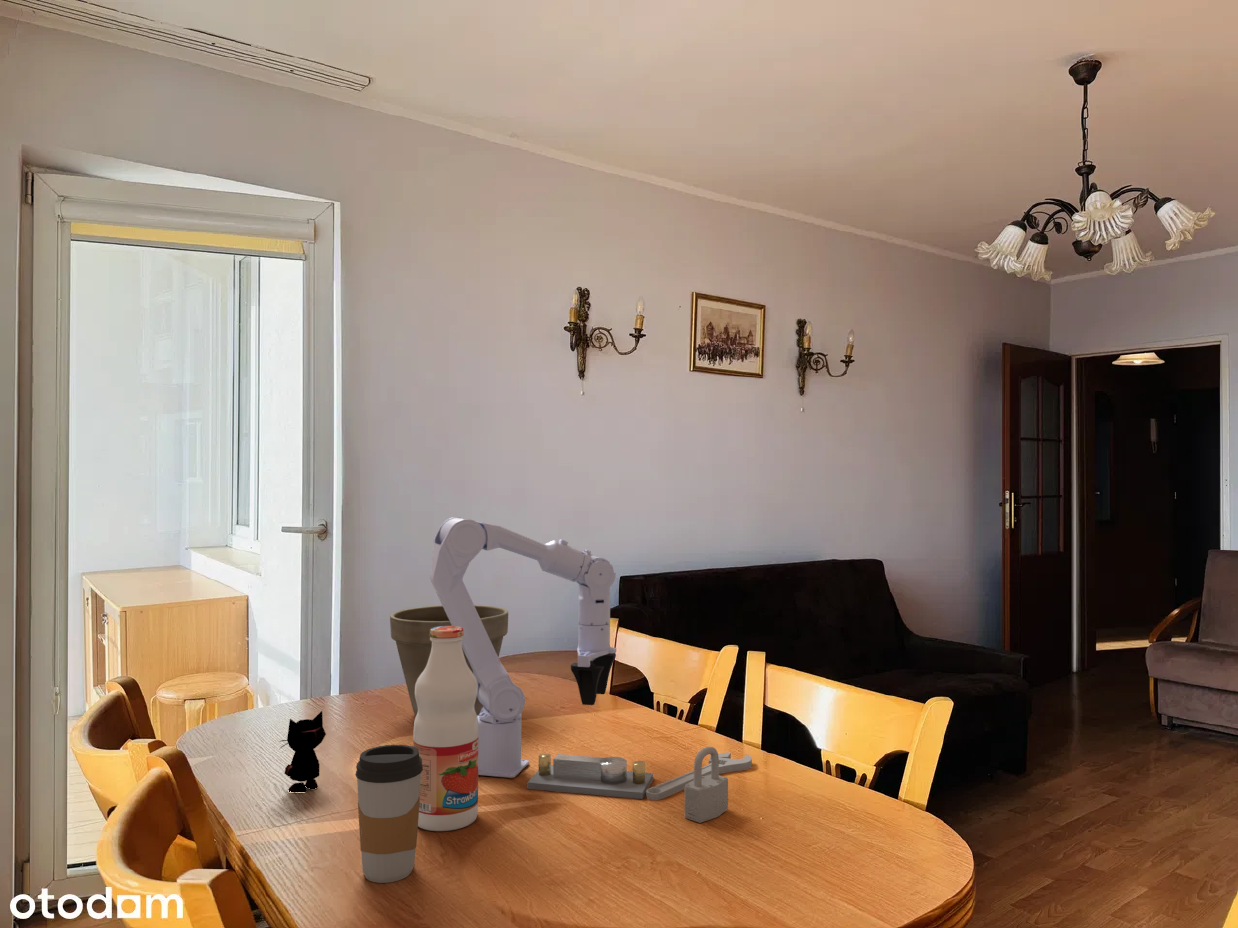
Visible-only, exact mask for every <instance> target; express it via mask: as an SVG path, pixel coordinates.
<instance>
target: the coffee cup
mask: <svg viewBox="0 0 1238 928" xmlns="http://www.w3.org/2000/svg"><path fill="white" fill-rule="evenodd" d="M355 769H356V771H355V774H354V775H355V777H356V781H357V784H356V785H357V796H358V797H357V799H358V800H357V810H358V811H357V813H358V823H359V824H358V826H359V827H358V828H359V843H360V852H361V864H362V865H361V866H362V868H361V869H362V872H363V874H364V876H365V878H366V879H367V880H368V881H369V882H373V883H379V884H380V883H381V884H383V883H384V884H386V883H387V884H388V883H394V882H397V881H401V880H403V879H406V878H407V877H409V875H410V874H411V873H412V872H413V869H414V867H415V861H416V859H415V858H416V848H417V842H418V832H419V830H418V829H419V827H418V817H419V803H420V796H419V793H420V780H421V772H422V771H423V766H422V758H421V757H420V756H419V750H418V749H417V748H415V747H413V746H412V745H407V744H387V745H386V744H385V745H379V746H374V747H371V748H368V749H366V750H364V751H362V752H361V753H360V755H359V760H358V761H357V763H356V767H355Z"/></svg>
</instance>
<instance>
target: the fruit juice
mask: <svg viewBox="0 0 1238 928" xmlns="http://www.w3.org/2000/svg"><path fill="white" fill-rule="evenodd" d="M463 635H464V630H463V628H462V627H458V626H439V627H434V628H431V629H430V640H431V641H432V648H431V653H430V656H429V659H428V663H427V665H426V667H425V669H424V671H423V672H422V673H421V675H420V676H419V678H418V679H417V681H416V685H415V699H416V702H417V706H418V712H417V715H416V716H415V718H414V723H413V730H412V731H413V732H412V737H413V739H412V741H413V742H412V743H413V744H412V745H413V747H415V748H417V749H418V750H419V756H420V757H421V758H422V766H423V771H422V772H421V780H420V793H419V796H420V803H419V817H418V828H420V829H423V830H425V831H430V832H431V831H432V832H450V831H455V830H459V829H462V828H466V827H467V826H470V825H472V824H473V823H474V822H475V821H476V819H477V816H478V814H479V775H478V737H479V729H478V718H477V714H476V712H475V708H474V705H475V701H476V697H477V693H478V685H477V680H476V678H475V676H474V674H473V673H472V671H471V670H470V669H469V667H468V665H467V663H466V660H465V657H464V654H463V650H462V644H461V641H462V640H463Z"/></svg>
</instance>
